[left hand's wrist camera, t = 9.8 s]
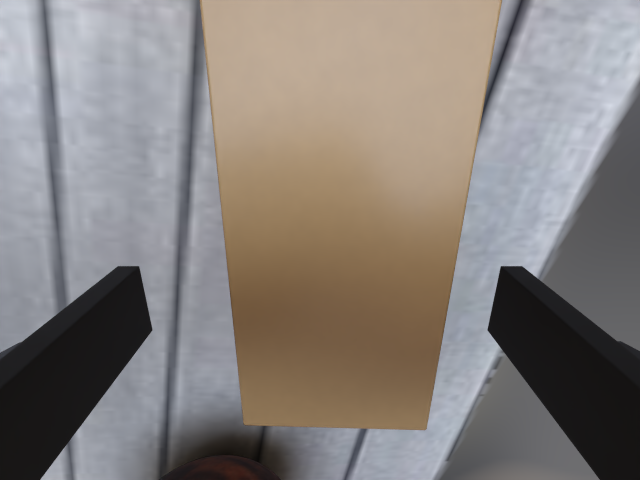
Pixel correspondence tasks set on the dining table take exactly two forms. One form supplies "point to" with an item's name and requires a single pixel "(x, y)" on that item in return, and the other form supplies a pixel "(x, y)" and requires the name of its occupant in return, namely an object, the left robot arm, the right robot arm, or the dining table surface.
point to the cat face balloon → (222, 469)
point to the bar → (343, 196)
